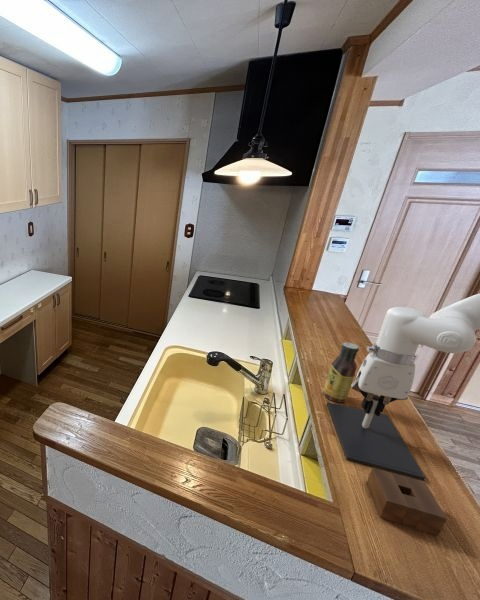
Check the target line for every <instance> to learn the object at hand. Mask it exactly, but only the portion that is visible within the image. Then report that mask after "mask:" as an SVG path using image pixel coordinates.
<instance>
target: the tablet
mask: <svg viewBox="0 0 480 600" xmlns="http://www.w3.org/2000/svg"><path fill="white" fill-rule="evenodd" d="M325 405H326V408H327V410H328V413H329V416H330V418H331V422H332V424H333V427H334V429H335V432H336V435H337V438H338V440H339V443H340V446H341V449H342V451H343V455H344V457H345V460H346V461H350V462H353V463H356V464H361V465H364V466H367V467H372V468H376V469H380V470H384V471H387V472H391V473H395V474H399V475H402V476H406V477H409V478H413V479H417V480H420V481H424V482H425V479H426V476H425V474H424V473H423V471H422V470H421V468H420V466H419V464H418V463H417V461H416V460H415V457H413V455H412V453H411V451H410V450H409V448H408V446H407V445H406V444H405V442H404V440H403V438H402V436H401V435H400V433H399V431H398V430H397V429H396V427H395V425H394V422H392V420H391V418H390V416H389V415H388V414H384V413H380V416H376V415H375V413H374V415H373V417H372V420H371V423H370V425H369V427H368V428H366V429H365V428H363V426H362V423H363V420H364V418H365V415H366V413H365V411H364V409H363V408H362V409H361V408H356V407H352V406H347V405H343V404H338V403H333V402H330V401H327V402H326V404H325Z"/></svg>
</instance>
